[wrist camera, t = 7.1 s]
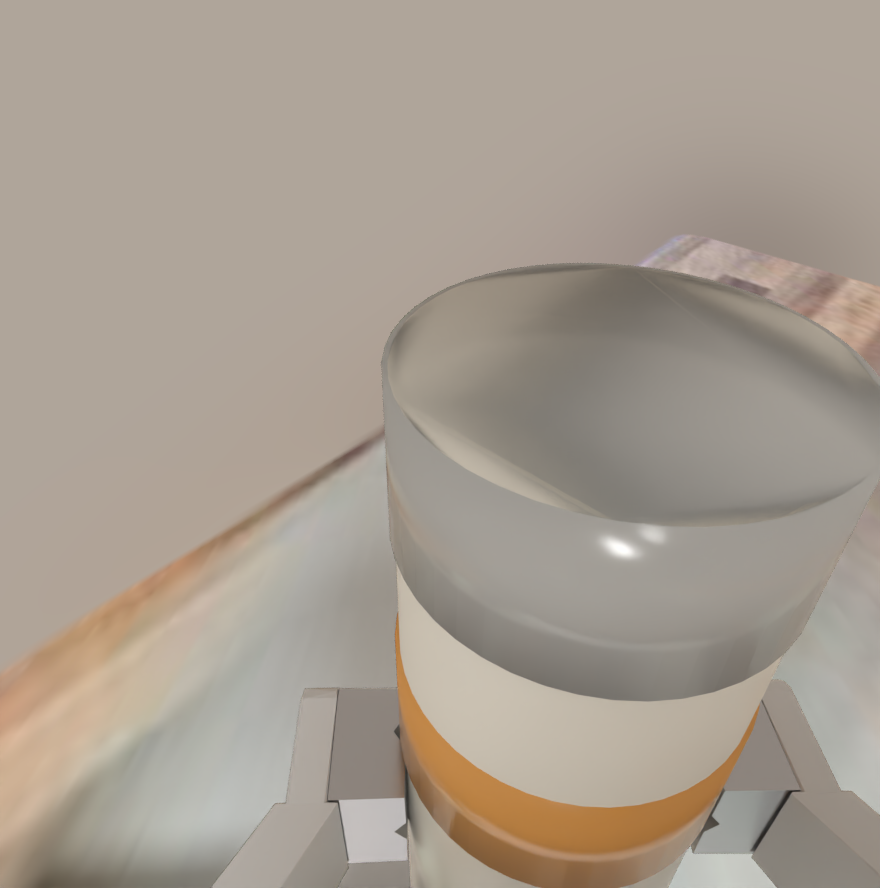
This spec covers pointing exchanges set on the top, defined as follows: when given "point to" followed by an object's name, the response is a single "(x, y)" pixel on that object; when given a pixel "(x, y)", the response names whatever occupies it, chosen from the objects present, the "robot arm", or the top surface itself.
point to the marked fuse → (603, 556)
